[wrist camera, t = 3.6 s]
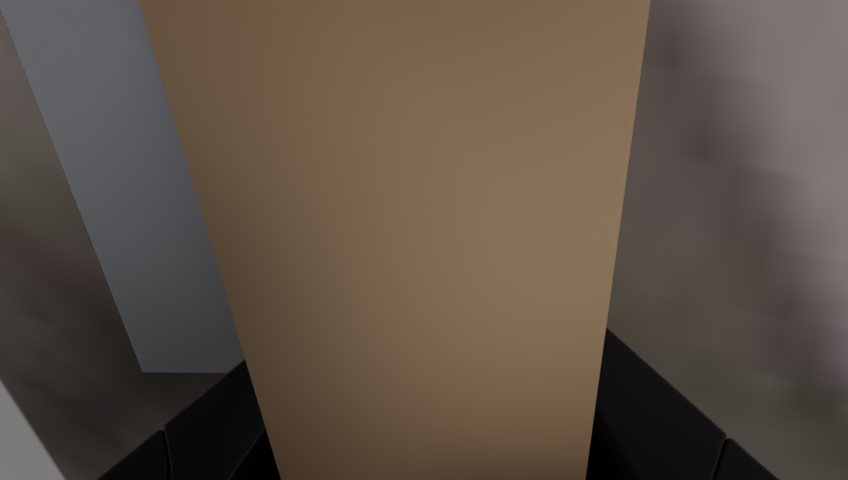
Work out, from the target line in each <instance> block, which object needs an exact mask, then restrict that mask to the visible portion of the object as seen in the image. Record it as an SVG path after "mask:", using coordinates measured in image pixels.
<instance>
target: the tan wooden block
mask: <svg viewBox="0 0 848 480" xmlns="http://www.w3.org/2000/svg"><path fill="white" fill-rule="evenodd" d="M138 1H139V5H140V8H141V11H142V15H143V18H144V21H145V25H146V28H147V32H148V35H149V38H150V42H151V45H152V48H153V52H154V55H155V58H156V62H157V65H158V68H159V72H160V75H161V79H162V82H163V85H164V89H165V92H166V95H167V99H168V102H169V105H170V109H171V112H172V115H173V119H174V122H175V125H176V129H177V132H178V136H179V139H180V142H181V146H182V149H183V152H184V156H185V159H186V162H187V166H188V169H189V172H190V176H191V179H192V183H193V186H194V189H195V193H196V196H197V199H198V203H199V206H200V209H201V213H202V216H203V219H204V223H205V226H206V230H207V233H208V236H209V240H210V243H211V246H212V250H213V253H214V256H215V260H216V263H217V266H218V270H219V273H220V277H221V280H222V283H223V287H224V290H225V293H226V297H227V300H228V303H229V307H230V310H231V313H232V317H233V320H234V323H235V327H236V330H237V334H238V337H239V340H240V344H241V347H242V350H243V354H244V357H245V360H246V364H247V367H248V370H249V374H250V377H251V381H252V384H253V387H254V391H255V394H256V397H257V401H258V404H259V407H260V411H261V414H262V417H263V421H264V424H265V428H266V431H267V434H268V438H269V441H270V444H271V448H272V451H273V454H274V458H275V461H276V464H277V468H278V471H279V474H280V478H281V480H585V479H586V471H587V464H588V457H589V449H590V442H591V435H592V427H593V420H594V413H595V405H596V398H597V391H598V383H599V376H600V368H601V361H602V354H603V346H604V339H605V332H606V324H607V317H608V310H609V302H610V295H611V287H612V280H613V273H614V265H615V258H616V251H617V243H618V236H619V229H620V221H621V214H622V207H623V199H624V192H625V184H626V177H627V170H628V162H629V155H630V148H631V140H632V133H633V126H634V118H635V111H636V104H637V96H638V89H639V81H640V74H641V67H642V59H643V52H644V45H645V37H646V30H647V23H648V15H649V8H650V0H138Z"/></svg>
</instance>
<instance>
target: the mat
mask: <svg viewBox="0 0 848 480" xmlns="http://www.w3.org/2000/svg"><path fill="white" fill-rule="evenodd" d="M0 9H1V12H2V14H3V17H4V19H5V22H6V24H7V27H8V30H9V32H10V35H11V37H12V40H13V42H14V45H15V47H16V50H17V53H18V55H19V58H20V60H21V63H22V65H23V68H24V70H25V73H26V76H27V78H28V81H29V83H30V86H31V88H32V91H33V93H34V96H35V99H36V101H37V104H38V106H39V109H40V111H41V114H42V117H43V119H44V122H45V124H46V127H47V129H48V132H49V134H50V137H51V140H52V142H53V145H54V147H55V150H56V152H57V155H58V157H59V160H60V163H61V165H62V168H63V170H64V173H65V175H66V178H67V180H68V183H69V186H70V188H71V191H72V193H73V196H74V198H75V201H76V203H77V206H78V209H79V211H80V214H81V216H82V219H83V221H84V224H85V227H86V229H87V232H88V234H89V237H90V239H91V242H92V244H93V247H94V250H95V252H96V255H97V257H98V260H99V262H100V265H101V267H102V270H103V273H104V275H105V278H106V280H107V283H108V285H109V288H110V290H111V293H112V296H113V298H114V301H115V303H116V306H117V308H118V311H119V314H120V316H121V319H122V321H123V324H124V326H125V329H126V331H127V334H128V337H129V339H130V342H131V344H132V347H133V349H134V352H135V354H136V357H137V360H138V362H139V365H140V367H141V370H142V372H154V373H228V372H229V371H230V370H231V369H233V368H234V367H235V366H236V365H237V364H239V363H240V362H241V361H242V360H243V359H245V357H244V354H243V350H242V347H241V344H240V340H239V337H238V334H237V330H236V327H235V323H234V320H233V317H232V313H231V310H230V307H229V303H228V300H227V297H226V293H225V290H224V287H223V283H222V280H221V277H220V273H219V270H218V266H217V263H216V260H215V256H214V253H213V250H212V246H211V243H210V240H209V236H208V233H207V230H206V226H205V223H204V219H203V216H202V213H201V209H200V206H199V203H198V199H197V196H196V193H195V189H194V186H193V183H192V179H191V176H190V172H189V169H188V166H187V162H186V159H185V156H184V152H183V149H182V146H181V142H180V139H179V136H178V132H177V129H176V125H175V122H174V119H173V115H172V112H171V109H170V105H169V102H168V99H167V95H166V92H165V89H164V85H163V82H162V79H161V75H160V72H159V68H158V65H157V62H156V58H155V55H154V52H153V48H152V45H151V42H150V38H149V35H148V32H147V28H146V25H145V21H144V18H143V15H142V11H141V8H140V5H139V1H138V0H0Z"/></svg>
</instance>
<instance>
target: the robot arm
mask: <svg viewBox="0 0 848 480" xmlns="http://www.w3.org/2000/svg"><path fill="white" fill-rule="evenodd" d="M726 439H727V434H726V433H725V432H724V431H723V430H722V429H721V428H720V427H718V426H717V425H716V424H715V423H714V422H713V421H712V420H711V419H709V418H708V417H707V416H706V415H705V414H704V413H703V412H702V411H700V410H699V409H698V408H697V407H696V406H695V405H694V404H692V403H691V402H690V401H689V400H688V399H687V398H686V397H685V396H683V395H682V394H681V393H680V392H679V391H678V390H677V389H676V388H674V387H673V386H672V385H671V384H670V383H669V382H668V381H667V380H665V379H664V378H663V377H662V376H661V375H660V374H659V373H657V372H656V371H655V370H654V369H653V368H652V367H651V366H650V365H648V364H647V363H646V362H645V361H644V360H643V359H642V358H641V357H639V356H638V355H637V354H636V353H635V352H634V351H633V350H631V349H630V348H629V347H628V346H627V345H626V344H625V343H624V342H622V341H621V340H620V339H619V338H618V337H617V336H616V335H615V334H613V333H612V332H611V331H610V330H609V329H608V328H607V327H606V332H605V339H604V346H603V354H602V361H601V368H600V376H599V383H598V391H597V398H596V405H595V413H594V420H593V427H592V435H591V442H590V449H589V457H588V464H587V471H586V479H585V480H780V479H778V478H777V477H776V476H775V475H774V474H773V473H771V472H770V471H769V470H768V469H767V468H766V467H764V466H763V465H762V464H761V463H760V462H758V461H757V460H756V459H755V458H754V457H753V456H752V455H750V454H749V453H748V452H747V451H746V450H745V449H744V448H743V447H741V446H740V445H739V444H738V443H737V442H736V441H735V440H733V439H732V438H728V439H727V440H726ZM97 480H281V478H280V474H279V471H278V468H277V464H276V461H275V458H274V454H273V451H272V448H271V444H270V441H269V438H268V434H267V431H266V428H265V424H264V421H263V417H262V414H261V411H260V407H259V404H258V401H257V397H256V394H255V391H254V387H253V384H252V381H251V377H250V374H249V370H248V367H247V364H246V360H245V359H243V360H242V361H241V362H240V363H239V364H237V365H236V366H235V367H234V368H233V369H231V370H230V371H229V372H228V373H227V374H225V375H224V376H223V377H222V378H221V379H219V380H218V381H217V382H216V383H215V384H213V385H212V386H211V387H210V388H208V389H207V390H206V391H205V392H204V393H202V394H201V395H200V396H199V397H198V398H196V399H195V400H194V401H193V402H192V403H190V404H189V405H188V406H187V407H186V408H184V409H183V410H182V411H181V412H180V413H178V414H177V415H176V416H175V417H173V418H172V419H171V420H170V421H169V422H167V423H166V424H165V425H164V427H163V431H162V430H158V431H156V432H155V433H154V434H153V435H151V436H150V437H149V438H148V439H147V440H145V441H144V442H143V443H142V444H141V445H139V446H138V447H137V448H136V449H135V450H133V451H132V452H131V453H130V454H128V455H127V456H126V457H124V458H123V459H122V460H121V461H119V462H118V463H117V464H116V465H114V466H113V467H112V468H111V469H109V470H108V471H107V472H106V473H104V474H103V475H102V476H101V477H99V478H98V479H97Z"/></svg>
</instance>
